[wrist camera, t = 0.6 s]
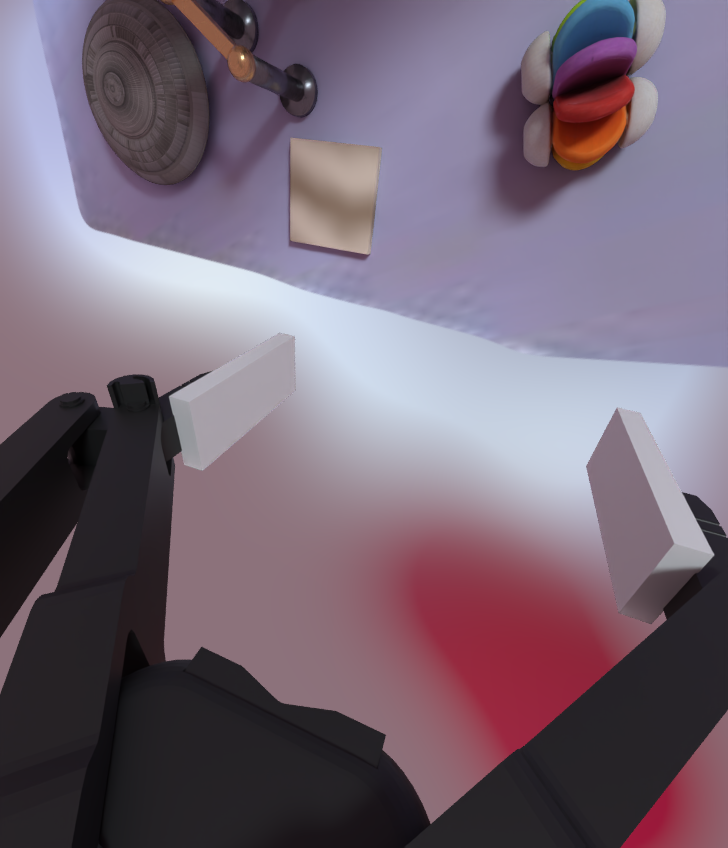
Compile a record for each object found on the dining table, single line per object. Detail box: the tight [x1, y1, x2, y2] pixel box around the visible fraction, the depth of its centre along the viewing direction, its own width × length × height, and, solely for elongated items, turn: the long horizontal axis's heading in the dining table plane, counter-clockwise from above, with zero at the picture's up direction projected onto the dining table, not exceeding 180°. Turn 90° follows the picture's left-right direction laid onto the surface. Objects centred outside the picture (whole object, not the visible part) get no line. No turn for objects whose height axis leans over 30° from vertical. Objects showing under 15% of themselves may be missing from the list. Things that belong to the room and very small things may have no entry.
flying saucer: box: [82, 0, 209, 185], centre depth 38 cm, size 15×15×6 cm
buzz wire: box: [161, 0, 318, 117], centre depth 29 cm, size 12×10×10 cm
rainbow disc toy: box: [521, 0, 666, 170], centre depth 26 cm, size 8×10×7 cm
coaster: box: [290, 138, 382, 255], centre depth 38 cm, size 9×9×1 cm
